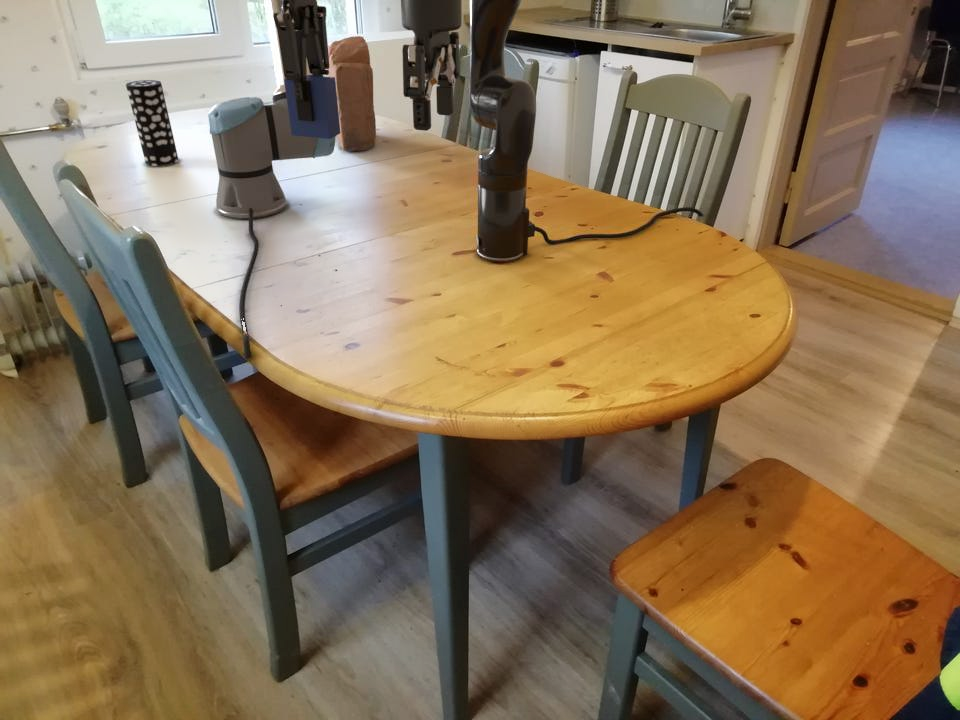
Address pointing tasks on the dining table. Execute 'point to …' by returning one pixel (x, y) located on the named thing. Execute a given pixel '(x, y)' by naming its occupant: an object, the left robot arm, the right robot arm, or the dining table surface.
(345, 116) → the stone
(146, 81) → the black white spotted cylinder
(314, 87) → the block
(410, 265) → the dining table surface
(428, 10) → the right robot arm
